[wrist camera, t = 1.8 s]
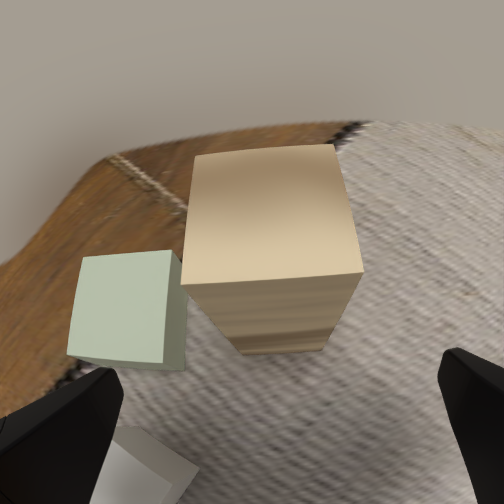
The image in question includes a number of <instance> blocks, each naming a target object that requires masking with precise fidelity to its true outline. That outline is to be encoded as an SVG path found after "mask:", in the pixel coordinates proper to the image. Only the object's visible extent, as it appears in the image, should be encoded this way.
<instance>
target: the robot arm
mask: <svg viewBox="0 0 504 504" xmlns="http://www.w3.org/2000/svg"><path fill="white" fill-rule="evenodd" d="M437 378H438V383H439V387H440V390H441V393H442V396H443V400H444V403H445V406H446V410H447V413H448V417H449V420H450V424H451V427H452V429H453V432H454V435H455V437H456V440H457V442H458V445H459V448H460V450H461V453H462V456H463V459H464V462H465V465H466V467H467V470H468V473H469V476H470V480H471V483H472V486H473V489H474V492H475V496H476V499H477V503H478V504H504V368H502V367H500V366H498V365H496V364H494V363H491V362H489V361H487V360H485V359H483V358H481V357H478V356H476V355H474V354H472V353H470V352H468V351H465V350H463V349H461V348H458V347H456V348H452V349H447V350H446V351H445V352H444V353H443V357H442V360H441V364H440V367H439V371H438V376H437ZM123 397H124V392H123V388H122V386H121V383H120V381H119V378H118V376H117V373H116V371H115V370H114V369H113V368H109V367H99V368H97V369H95V370H93V371H92V372H90V373H88V374H86V375H84V376H82V377H80V378H79V379H77V380H75V381H73V382H71V383H69V384H67V385H65V386H63V387H62V388H60V389H58V390H56V391H54V392H52V393H50V394H48V395H46V396H44V397H42V398H41V399H39V400H37V401H35V402H33V403H31V404H29V405H27V406H25V407H23V408H21V409H19V410H17V411H15V412H13V413H11V414H9V415H8V416H7V417H6V416H5V417H3V418H1V419H0V504H89V503H90V500H91V497H92V495H93V492H94V489H95V486H96V483H97V480H98V477H99V474H100V472H101V469H102V466H103V463H104V461H105V458H106V455H107V452H108V450H109V447H110V444H111V441H112V438H113V435H114V431H115V427H116V424H117V420H118V416H119V412H120V409H121V405H122V401H123Z"/></svg>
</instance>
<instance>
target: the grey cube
mask: <svg viewBox="0 0 504 504" xmlns="http://www.w3.org/2000/svg"><path fill="white" fill-rule="evenodd" d="M199 469H200V467H198V466H196V465H195V464H193V463H191V462H190V461H188V460H186V459H185V458H183V457H182V456H180V455H179V454H177V453H176V452H174V451H173V450H171V449H170V448H168V447H167V446H165V445H164V444H162V443H161V442H159V441H158V440H157V439H155V438H154V437H152V436H151V435H150V434H148V433H147V432H146V431H144V430H143V429H142V428H140V427H139V426H134V427H115V431H114V435H113V438H112V441H111V444H110V447H109V450H108V452H107V455H106V458H105V461H104V463H103V466H102V469H101V472H100V474H99V477H98V480H97V483H96V486H95V489H94V492H93V495H92V497H91V500H90V503H89V504H176V503H177V502H178V500H179V499H180V498H181V496H182V495H183V493H184V492H185V490H186V489H187V487H188V486H189V484H190V483H191V481H192V480H193V478H194V477H195V475H196V474H197V472H198V471H199Z"/></svg>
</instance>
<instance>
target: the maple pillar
mask: <svg viewBox="0 0 504 504" xmlns="http://www.w3.org/2000/svg"><path fill="white" fill-rule="evenodd" d="M363 273H364V270H363V264H362V259H361V254H360V249H359V244H358V240H357V235H356V230H355V226H354V221H353V217H352V213H351V209H350V204H349V200H348V196H347V192H346V188H345V185H344V181H343V177H342V173H341V170H340V166H339V162H338V159H337V155H336V152H335V149H334V145H333V144H325V145H303V146H287V147H273V148H261V149H250V150H240V151H231V152H223V153H214V154H207V155H199V156H195V162H194V169H193V176H192V183H191V191H190V198H189V207H188V215H187V224H186V233H185V242H184V252H183V263H182V274H181V286H182V287H183V288H184V289H185V290H186V292H187V293H188V294H189V295H190V296H191V298H192V299H193V300H194V301H195V302H196V303H197V305H198V306H199V307H200V308H201V309H202V310H203V312H204V313H205V314H206V315H207V316H208V317H209V318H210V320H211V321H212V322H213V323H214V324H215V325H216V326H217V328H218V329H219V330H220V331H221V332H222V333H223V334H224V335H225V336H226V338H227V339H228V340H229V341H230V342H231V343H232V344H233V345H234V346H235V347H236V349H237V350H238V351H239V352H240V353H241V354H242V355H262V354H281V353H296V352H309V351H321V350H322V349H323V347H324V345H325V343H326V342H327V340H328V338H329V337H330V335H331V333H332V331H333V330H334V328H335V326H336V324H337V322H338V321H339V319H340V317H341V315H342V313H343V312H344V310H345V308H346V306H347V304H348V302H349V300H350V298H351V297H352V295H353V293H354V291H355V289H356V287H357V285H358V283H359V281H360V279H361V277H362V275H363Z"/></svg>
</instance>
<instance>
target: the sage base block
mask: <svg viewBox="0 0 504 504" xmlns="http://www.w3.org/2000/svg"><path fill="white" fill-rule="evenodd" d="M181 274H182V264H181V262H180V261H179V259H178V258H177V256H176V255H175V254H174V252H173V251H172V250H163V251H151V252H139V253H127V254H115V255H103V256H92V257H83V261H82V266H81V270H80V275H79V280H78V285H77V290H76V295H75V300H74V306H73V312H72V318H71V325H70V332H69V340H68V348H67V355H70V356H72V357H75V358H78V359H81V360H84V361H87V362H90V363H93V364H96V365H104V366H113V367H123V368H135V369H149V370H167V371H185V341H186V319H187V301H188V293H187V292H186V290H185V289H184V288H183V287H182V286H181Z"/></svg>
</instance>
